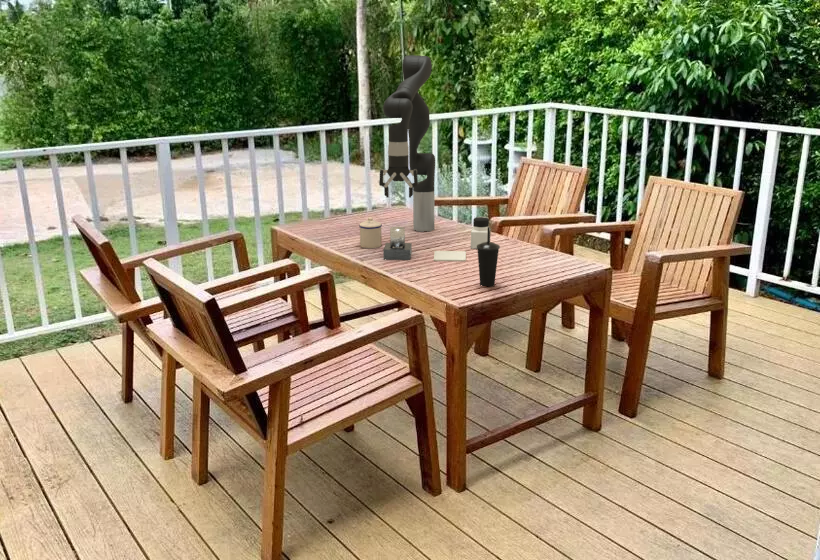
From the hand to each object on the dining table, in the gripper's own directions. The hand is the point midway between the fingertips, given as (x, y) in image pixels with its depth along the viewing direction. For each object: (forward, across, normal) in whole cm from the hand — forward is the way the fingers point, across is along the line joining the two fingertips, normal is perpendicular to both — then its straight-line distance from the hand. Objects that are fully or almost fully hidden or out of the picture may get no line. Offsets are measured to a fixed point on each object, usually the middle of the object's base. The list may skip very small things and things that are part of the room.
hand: (398, 197), depth 278 cm
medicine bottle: (+23, -32, -14) cm, 41 cm away
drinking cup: (+24, -32, +35) cm, 53 cm away
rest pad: (+23, -20, +1) cm, 30 cm away
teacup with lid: (+23, +13, -15) cm, 30 cm away
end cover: (+23, 0, +1) cm, 23 cm away
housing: (+23, 0, +1) cm, 23 cm away
